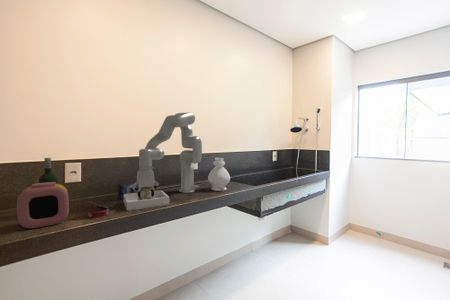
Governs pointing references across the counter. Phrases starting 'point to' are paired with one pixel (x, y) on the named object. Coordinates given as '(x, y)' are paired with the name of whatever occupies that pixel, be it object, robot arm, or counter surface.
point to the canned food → (97, 211)
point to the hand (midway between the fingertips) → (146, 196)
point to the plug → (145, 194)
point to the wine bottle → (48, 173)
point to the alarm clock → (42, 205)
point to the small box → (125, 189)
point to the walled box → (145, 201)
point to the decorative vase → (219, 175)
